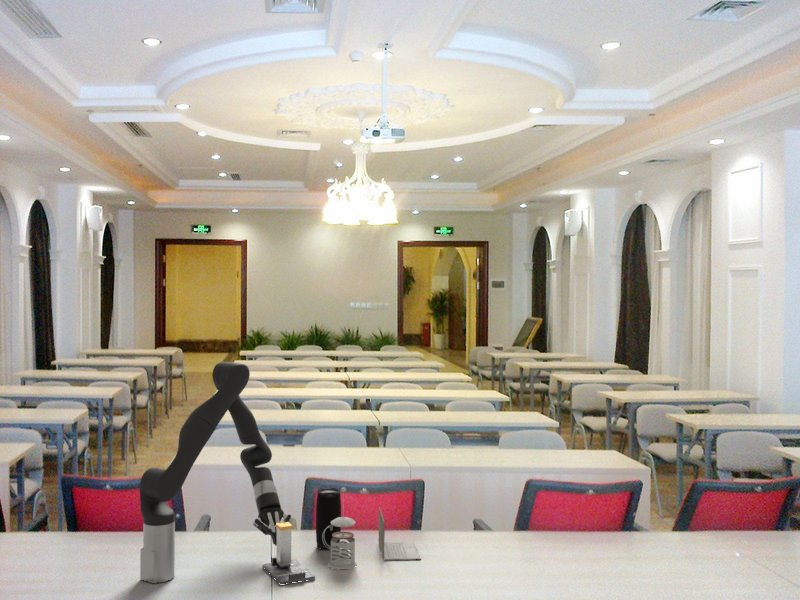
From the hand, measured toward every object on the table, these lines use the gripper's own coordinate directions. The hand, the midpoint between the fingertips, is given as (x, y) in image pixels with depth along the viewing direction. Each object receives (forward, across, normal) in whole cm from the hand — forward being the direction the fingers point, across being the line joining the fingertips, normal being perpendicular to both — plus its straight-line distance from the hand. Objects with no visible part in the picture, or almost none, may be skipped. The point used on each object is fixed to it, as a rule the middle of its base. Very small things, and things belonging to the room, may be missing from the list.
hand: (278, 544), depth 267 cm
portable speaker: (-2, +21, +11) cm, 24 cm away
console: (+11, 0, -2) cm, 12 cm away
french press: (+11, +18, -2) cm, 21 cm away
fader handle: (+7, 0, -1) cm, 7 cm away
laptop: (+9, +41, +1) cm, 42 cm away
